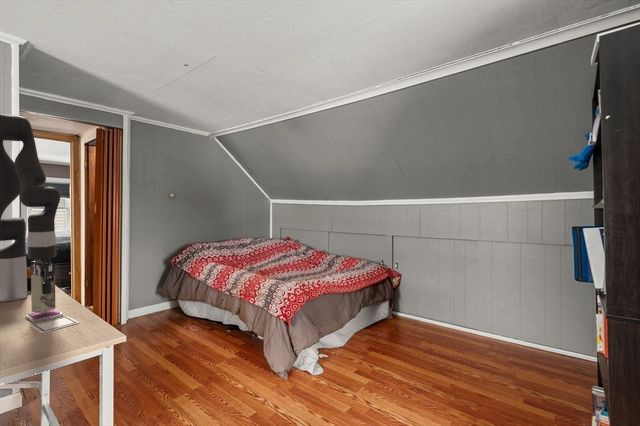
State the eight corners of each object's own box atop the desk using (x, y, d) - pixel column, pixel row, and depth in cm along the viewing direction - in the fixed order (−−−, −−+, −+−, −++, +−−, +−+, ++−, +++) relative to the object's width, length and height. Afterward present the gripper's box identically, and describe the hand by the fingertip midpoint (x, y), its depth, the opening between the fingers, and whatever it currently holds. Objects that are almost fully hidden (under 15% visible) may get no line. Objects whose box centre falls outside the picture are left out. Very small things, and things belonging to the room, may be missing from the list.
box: (41, 313, 111) (40, 276, 110) (31, 312, 112) (29, 275, 111) (56, 308, 116) (55, 272, 115) (46, 307, 117) (45, 272, 116)
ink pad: (25, 318, 113) (25, 314, 113) (53, 311, 119) (53, 307, 119) (34, 323, 108) (33, 319, 108) (62, 316, 115) (62, 312, 115)
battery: (22, 289, 146) (21, 267, 145) (41, 286, 151) (40, 265, 151) (24, 291, 143) (23, 269, 143) (44, 288, 148) (43, 266, 148)
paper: (30, 326, 106) (30, 325, 106) (67, 316, 114) (67, 315, 114) (41, 333, 101) (41, 332, 101) (79, 323, 109) (79, 321, 109)
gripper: (20, 243, 113) (22, 291, 114) (36, 247, 106) (37, 299, 107) (47, 241, 120) (48, 286, 121) (63, 245, 112) (65, 293, 113)
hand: (43, 292), depth 114 cm, fingers closed on box, 5 cm apart
